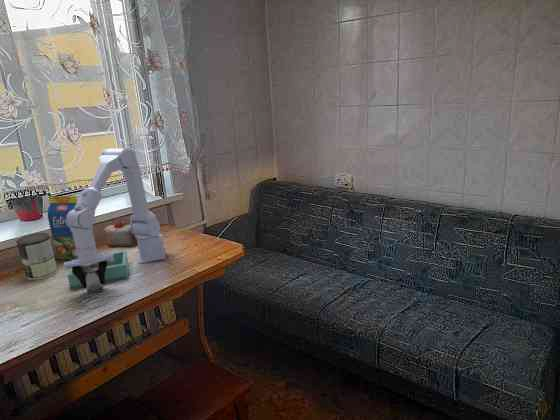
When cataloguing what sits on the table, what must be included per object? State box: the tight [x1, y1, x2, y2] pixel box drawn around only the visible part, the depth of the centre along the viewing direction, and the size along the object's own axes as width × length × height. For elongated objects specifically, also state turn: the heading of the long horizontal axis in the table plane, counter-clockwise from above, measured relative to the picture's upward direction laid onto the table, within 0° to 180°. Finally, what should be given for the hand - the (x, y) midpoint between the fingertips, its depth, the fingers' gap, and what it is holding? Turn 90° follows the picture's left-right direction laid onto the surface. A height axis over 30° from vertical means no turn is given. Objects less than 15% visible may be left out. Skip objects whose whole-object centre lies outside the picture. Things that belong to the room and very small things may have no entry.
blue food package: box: [47, 195, 78, 261], centre depth 162 cm, size 6×12×25 cm, turn 78°
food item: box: [103, 220, 138, 247], centre depth 175 cm, size 14×8×10 cm, turn 76°
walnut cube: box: [82, 263, 99, 271], centre depth 145 cm, size 5×5×5 cm
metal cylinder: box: [83, 268, 104, 295], centre depth 135 cm, size 5×5×7 cm
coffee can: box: [16, 232, 58, 281], centre depth 150 cm, size 10×10×14 cm
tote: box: [67, 250, 129, 290], centre depth 147 cm, size 18×14×5 cm
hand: (94, 285), depth 136 cm, fingers closed on metal cylinder, 5 cm apart
